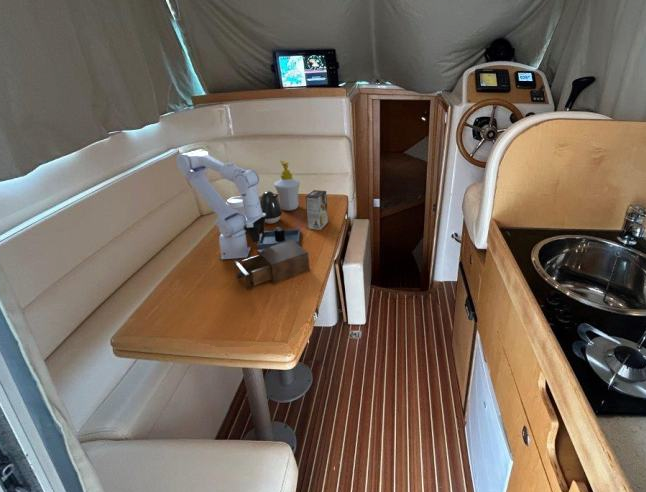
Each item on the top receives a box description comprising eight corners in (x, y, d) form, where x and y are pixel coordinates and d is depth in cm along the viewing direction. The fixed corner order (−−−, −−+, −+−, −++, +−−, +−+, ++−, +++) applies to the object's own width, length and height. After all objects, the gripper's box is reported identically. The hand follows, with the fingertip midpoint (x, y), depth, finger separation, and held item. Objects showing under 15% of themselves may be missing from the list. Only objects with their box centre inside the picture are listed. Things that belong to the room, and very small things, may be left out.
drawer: (243, 291, 118) (241, 276, 116) (232, 276, 126) (229, 262, 124) (283, 276, 126) (281, 262, 124) (270, 263, 134) (268, 250, 132)
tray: (257, 248, 147) (257, 244, 146) (262, 235, 158) (261, 231, 157) (298, 245, 150) (298, 241, 149) (300, 233, 161) (300, 229, 160)
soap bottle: (295, 202, 196) (291, 158, 187) (306, 209, 187) (302, 163, 178) (272, 207, 188) (267, 161, 180) (282, 214, 179) (277, 167, 170)
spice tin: (281, 242, 151) (280, 231, 149) (273, 240, 152) (272, 230, 150) (286, 238, 155) (285, 227, 153) (278, 236, 156) (277, 226, 154)
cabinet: (274, 283, 124) (271, 264, 121) (259, 268, 133) (257, 250, 130) (309, 270, 132) (308, 252, 129) (293, 256, 141) (292, 239, 138)
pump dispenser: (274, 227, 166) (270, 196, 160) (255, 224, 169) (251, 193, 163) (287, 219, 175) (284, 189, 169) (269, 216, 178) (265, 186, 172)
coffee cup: (257, 229, 164) (253, 198, 158) (239, 237, 156) (234, 205, 151) (243, 224, 168) (239, 194, 163) (225, 231, 161) (220, 200, 155)
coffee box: (315, 220, 173) (313, 189, 167) (328, 222, 172) (326, 190, 166) (307, 228, 165) (305, 196, 159) (321, 230, 164) (318, 197, 158)
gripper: (258, 209, 124) (265, 244, 129) (267, 196, 138) (273, 228, 143) (237, 211, 124) (245, 246, 128) (248, 198, 137) (255, 230, 142)
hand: (258, 237), depth 135 cm, fingers open, 7 cm apart
